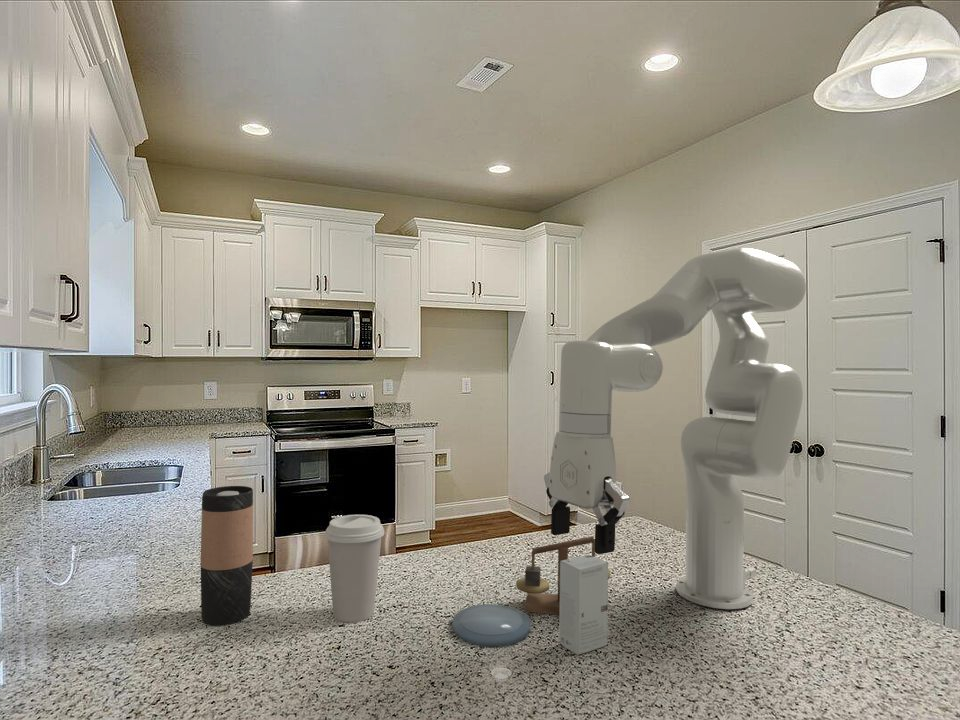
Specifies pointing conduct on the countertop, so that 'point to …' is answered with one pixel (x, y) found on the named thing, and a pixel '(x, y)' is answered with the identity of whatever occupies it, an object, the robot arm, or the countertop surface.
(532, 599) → the balance
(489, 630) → the dish
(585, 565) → the skincare box
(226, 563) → the travel mug
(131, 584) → the countertop surface
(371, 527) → the coffee cup
